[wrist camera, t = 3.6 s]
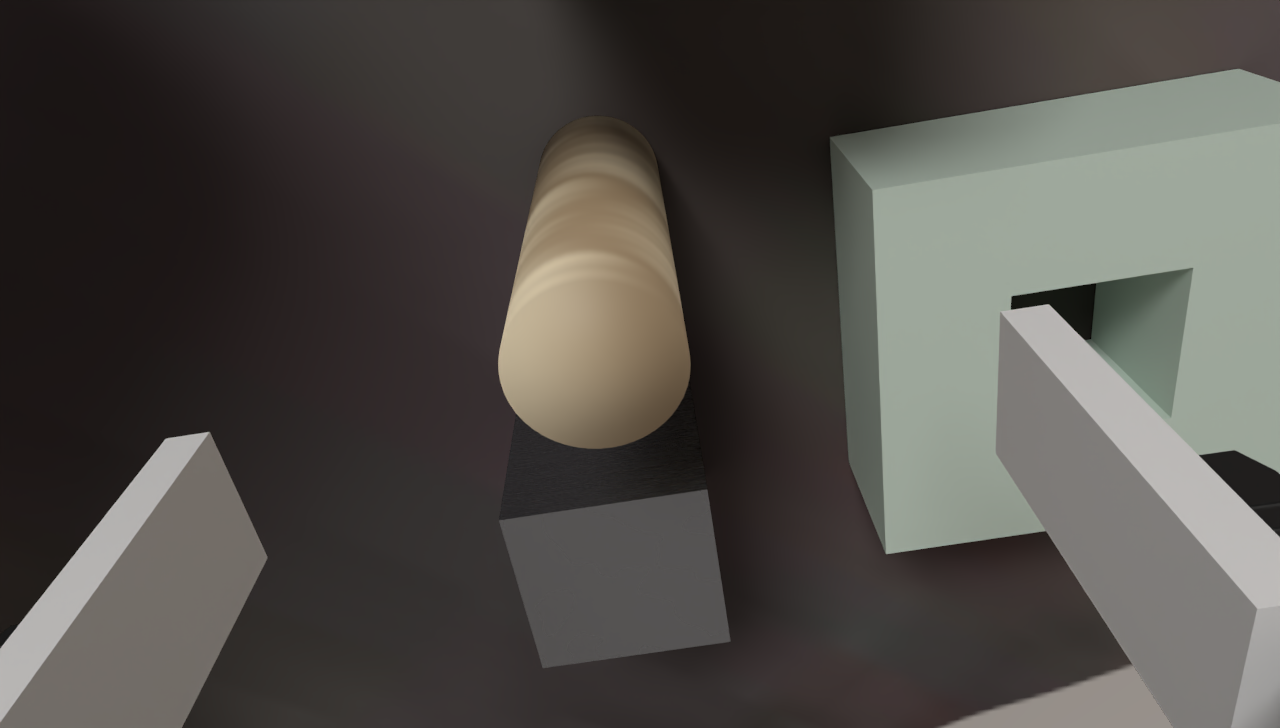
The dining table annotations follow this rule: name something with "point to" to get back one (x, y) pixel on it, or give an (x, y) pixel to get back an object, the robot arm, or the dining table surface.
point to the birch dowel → (595, 294)
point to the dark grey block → (614, 543)
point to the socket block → (1054, 281)
